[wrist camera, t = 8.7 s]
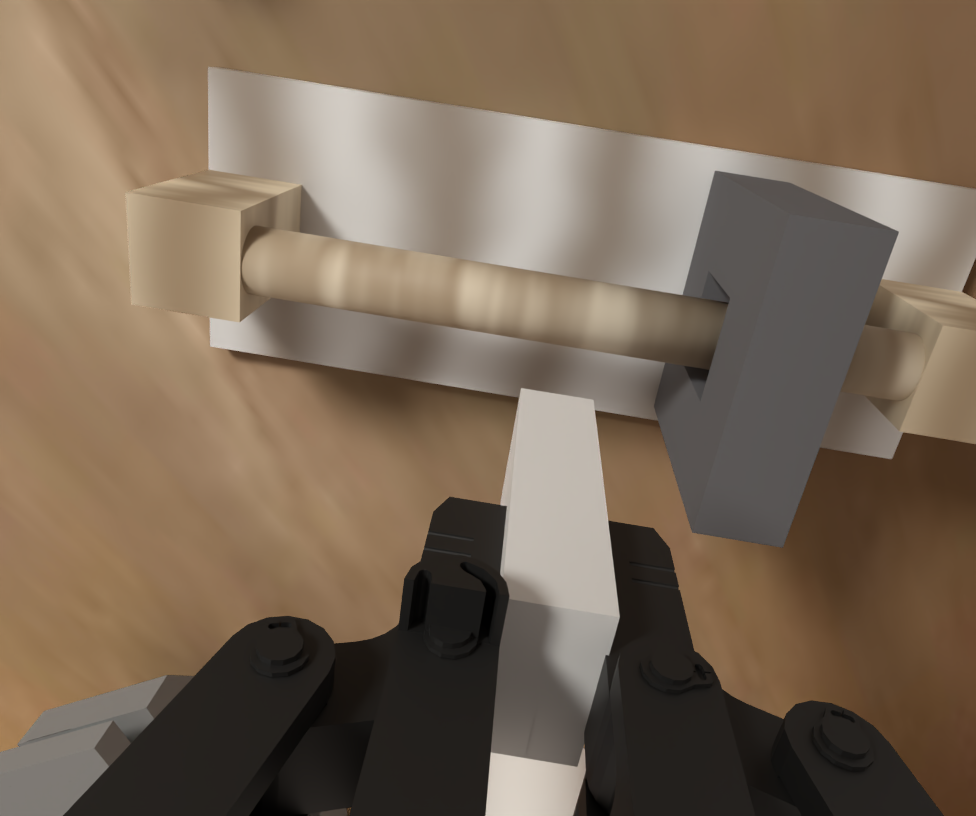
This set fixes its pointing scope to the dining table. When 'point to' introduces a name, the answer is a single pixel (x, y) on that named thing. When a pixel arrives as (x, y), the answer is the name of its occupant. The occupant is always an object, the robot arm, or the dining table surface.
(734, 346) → the collar
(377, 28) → the dining table surface
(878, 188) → the rail
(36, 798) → the grey grooved block
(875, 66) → the dining table surface
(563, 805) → the cylindrical container
